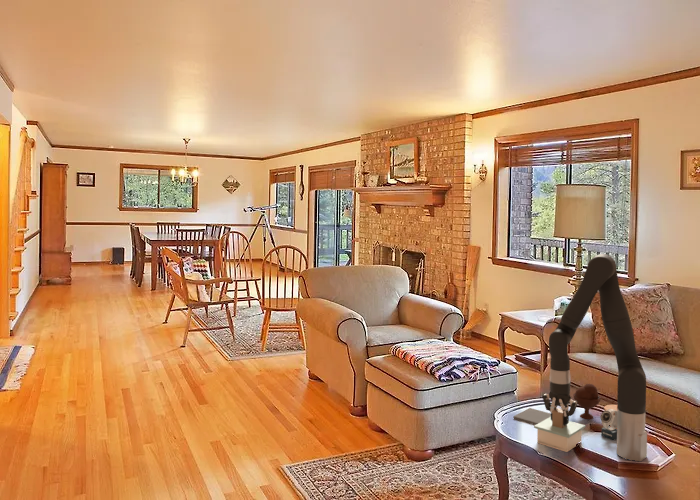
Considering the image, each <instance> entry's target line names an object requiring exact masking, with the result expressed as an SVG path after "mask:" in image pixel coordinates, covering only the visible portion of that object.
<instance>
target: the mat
mask: <svg viewBox="0 0 700 500" xmlns="http://www.w3.org/2000/svg"><path fill="white" fill-rule="evenodd" d="M549 417H551V412H547V411H544V410H539V409H535V408H532V407H529V408H526V409H524V410H522V411H521V412H518V414H517V413H516V414H515V415H514V416H513V418H514V420H517V421H519V422H520V421H521V422H524V423H528V424H531V425H533V426H535V425H536V424H538V423H540V422H542V421H544V420H545V419H547V418H549Z"/></svg>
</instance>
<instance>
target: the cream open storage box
mask: <svg viewBox="0 0 700 500" xmlns="http://www.w3.org/2000/svg"><path fill="white" fill-rule="evenodd" d="M536 430H537V435H536V436H537V439H536V440H537V441H536V442H537V444H540V445H543V446H547V447H549V448H553V449H557V450H559V451H562V452H566V453H567V452H569V451H571V450H572V449H574V448H575V447H577V446H576V444H577V443H578V442H580V441H581V442H582V430H580V431H579V432H577V433H576V434H574V435H572V436H571V437H569V438H567V437H564V436H560V435H557V434H553V433H550V432H547V431H543V430H540V429H536Z"/></svg>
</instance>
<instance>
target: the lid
mask: <svg viewBox="0 0 700 500" xmlns="http://www.w3.org/2000/svg"><path fill="white" fill-rule="evenodd" d="M563 416H564V415H563V411H562V409H561V408H560V407H557V408H556V409H555V410H553V411H552V420H551V417H549V418H547V419H545V420H544V421H542V422H540V423H538V424H536V425H533V428H534V429H536V430H538V429H540V430H543V431H547V432H550V433H553V434H557V435H560V436H564V437H567V438H569V437H571V436H572V435H574V434H576V433H577V432H579V431H580V430H581V431H582V430H583V429H585V428H586V425H585V424H583V423H578V422H574V421H571V420H569V423H568V424H567V425H566V426H565V425H563Z"/></svg>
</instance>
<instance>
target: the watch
mask: <svg viewBox="0 0 700 500" xmlns="http://www.w3.org/2000/svg"><path fill="white" fill-rule="evenodd" d="M614 413H615V417H614V419H613V414H614ZM600 421H601V422H600V423H601V424H602V426H603V427H601V429H600V432H601V437H604V438H607V439H609V440H611V441H617V429H616V427H617V411H616V410H613V409H608V410H606V411H604V410H603V412H602V413H601V414H600ZM612 421H613V423H612V426H611V427H610V426H609V425H610V423H611V422H612Z"/></svg>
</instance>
